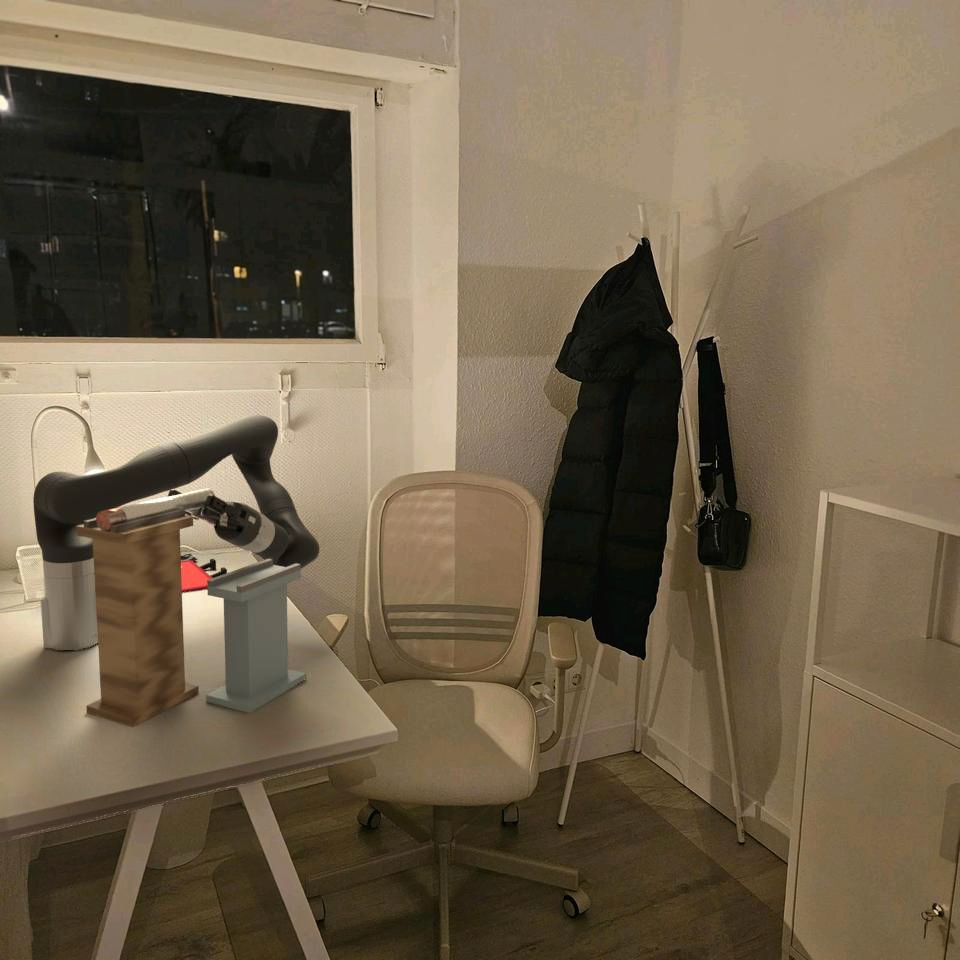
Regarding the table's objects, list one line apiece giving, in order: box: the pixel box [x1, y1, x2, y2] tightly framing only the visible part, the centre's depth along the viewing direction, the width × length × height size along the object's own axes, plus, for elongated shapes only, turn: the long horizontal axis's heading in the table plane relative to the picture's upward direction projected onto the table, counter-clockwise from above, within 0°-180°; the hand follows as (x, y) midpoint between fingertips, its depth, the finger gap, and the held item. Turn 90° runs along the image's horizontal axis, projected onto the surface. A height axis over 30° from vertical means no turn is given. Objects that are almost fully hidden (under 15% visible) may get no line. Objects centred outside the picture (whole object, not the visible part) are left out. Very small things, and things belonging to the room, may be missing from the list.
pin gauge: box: [96, 487, 216, 531], centre depth 133 cm, size 22×3×3 cm
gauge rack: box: [205, 559, 307, 714], centre depth 140 cm, size 15×9×21 cm, turn 155°
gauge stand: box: [76, 509, 199, 728], centre depth 133 cm, size 14×10×32 cm
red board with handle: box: [181, 553, 228, 594], centre depth 207 cm, size 30×3×15 cm
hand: (188, 497), depth 140 cm, fingers open, 8 cm apart
